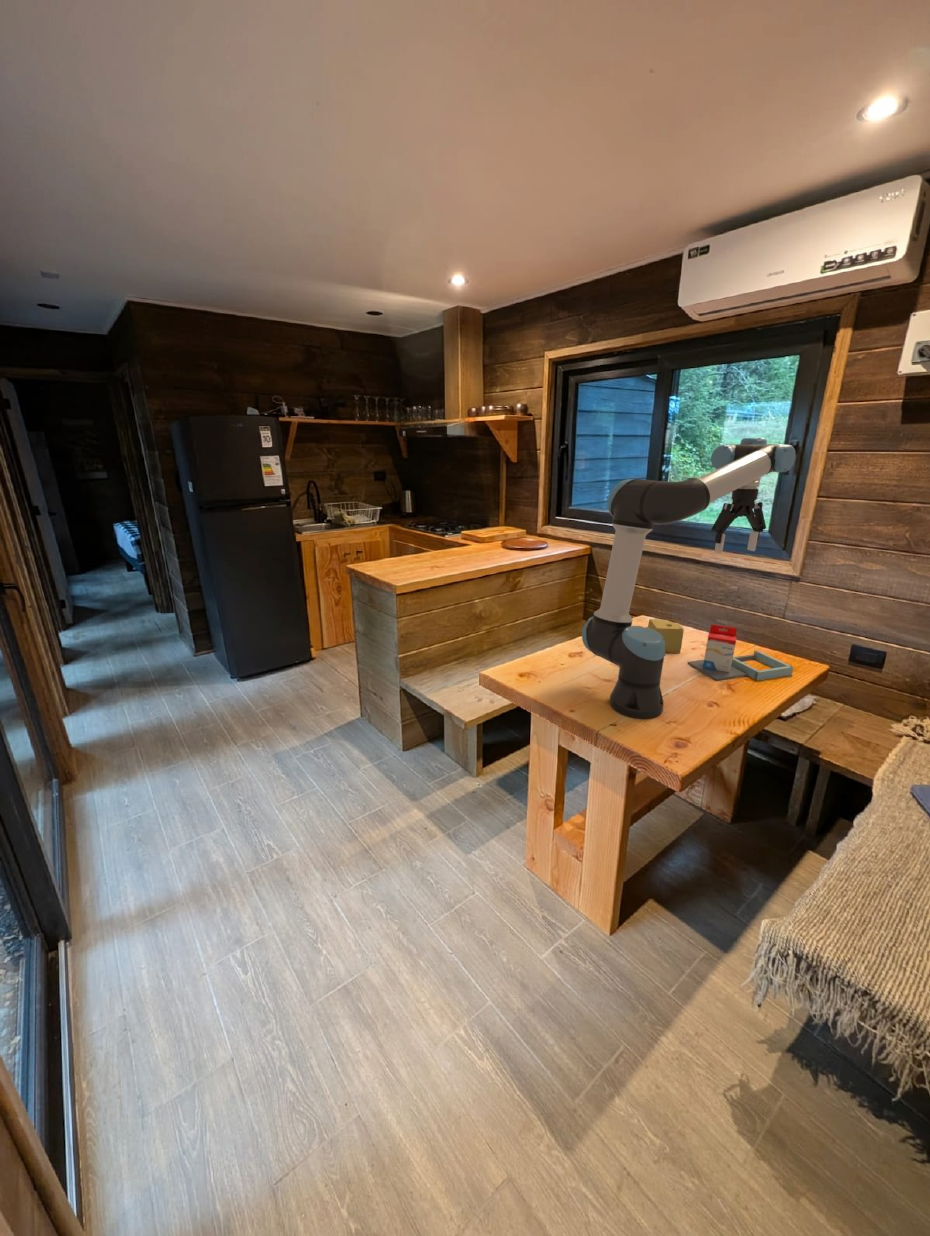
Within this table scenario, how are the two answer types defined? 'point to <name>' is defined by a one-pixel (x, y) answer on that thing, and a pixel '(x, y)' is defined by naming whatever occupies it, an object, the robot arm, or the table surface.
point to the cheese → (668, 634)
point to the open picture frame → (777, 670)
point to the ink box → (720, 648)
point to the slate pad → (715, 673)
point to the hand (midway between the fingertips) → (734, 551)
